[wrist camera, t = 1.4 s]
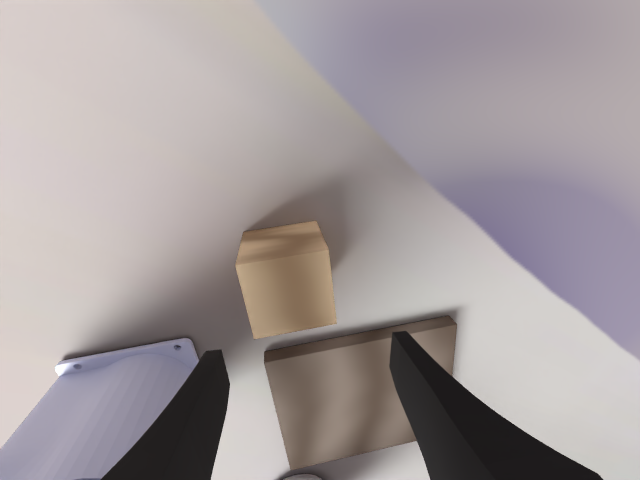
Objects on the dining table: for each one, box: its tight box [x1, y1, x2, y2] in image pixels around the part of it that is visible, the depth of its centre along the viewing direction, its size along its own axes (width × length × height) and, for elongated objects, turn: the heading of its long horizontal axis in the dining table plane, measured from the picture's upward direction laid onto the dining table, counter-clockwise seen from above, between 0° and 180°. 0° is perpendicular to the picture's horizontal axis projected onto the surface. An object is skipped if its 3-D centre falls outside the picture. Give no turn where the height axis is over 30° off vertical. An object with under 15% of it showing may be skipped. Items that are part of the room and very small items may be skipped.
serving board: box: [264, 316, 457, 470], centre depth 27 cm, size 16×14×1 cm
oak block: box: [235, 221, 337, 339], centre depth 19 cm, size 5×5×5 cm
